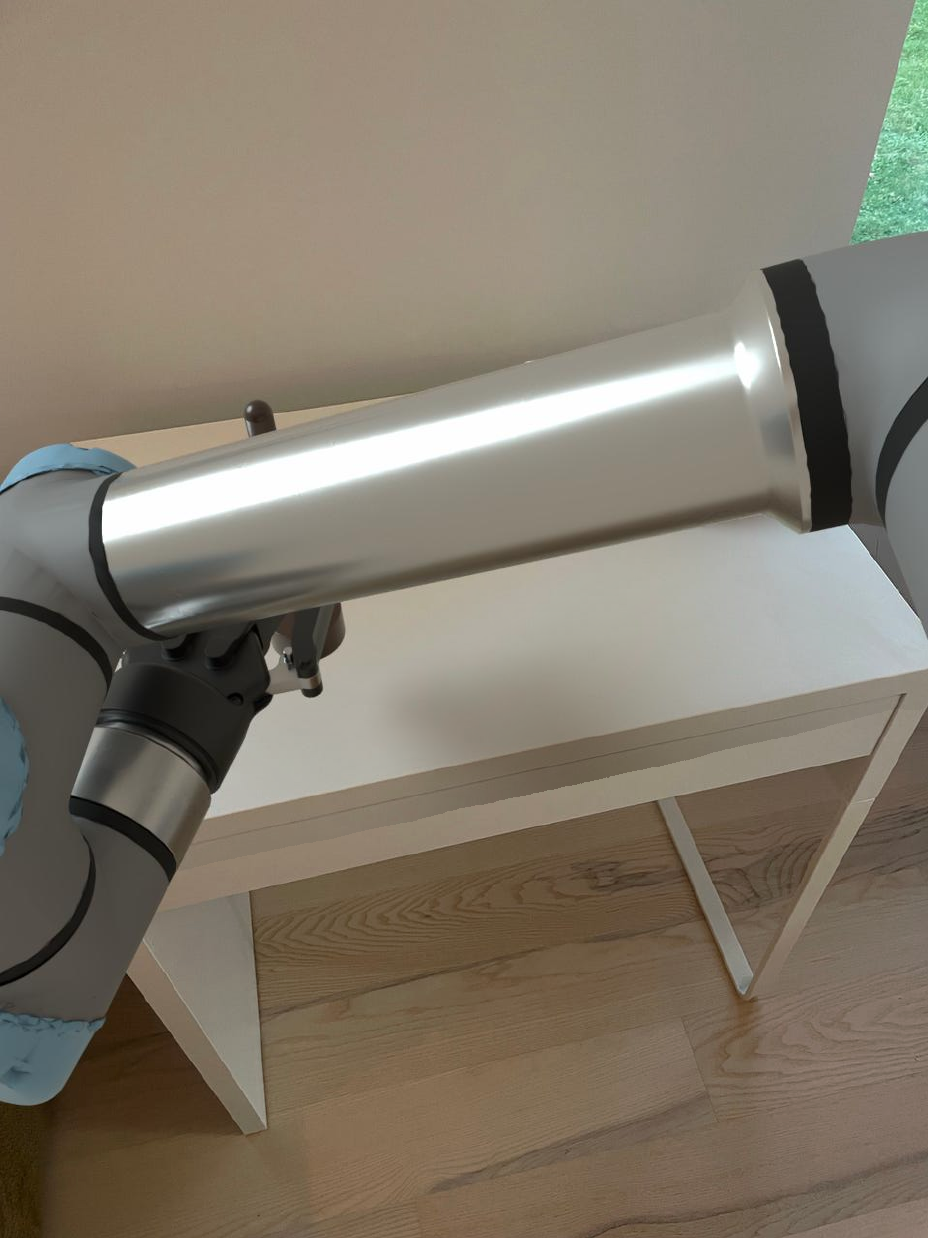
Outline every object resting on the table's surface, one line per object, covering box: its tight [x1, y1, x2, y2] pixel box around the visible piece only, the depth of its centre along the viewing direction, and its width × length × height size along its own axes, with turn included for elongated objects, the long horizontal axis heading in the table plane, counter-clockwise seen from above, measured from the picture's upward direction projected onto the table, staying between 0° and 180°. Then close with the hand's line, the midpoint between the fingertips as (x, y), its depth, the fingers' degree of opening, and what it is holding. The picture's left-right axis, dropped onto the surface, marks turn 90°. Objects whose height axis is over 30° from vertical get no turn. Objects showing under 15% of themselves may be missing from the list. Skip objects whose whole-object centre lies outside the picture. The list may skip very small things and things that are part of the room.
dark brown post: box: [243, 398, 347, 660], centre depth 60 cm, size 5×5×19 cm
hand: (316, 471), depth 64 cm, fingers closed on dark brown post, 2 cm apart
